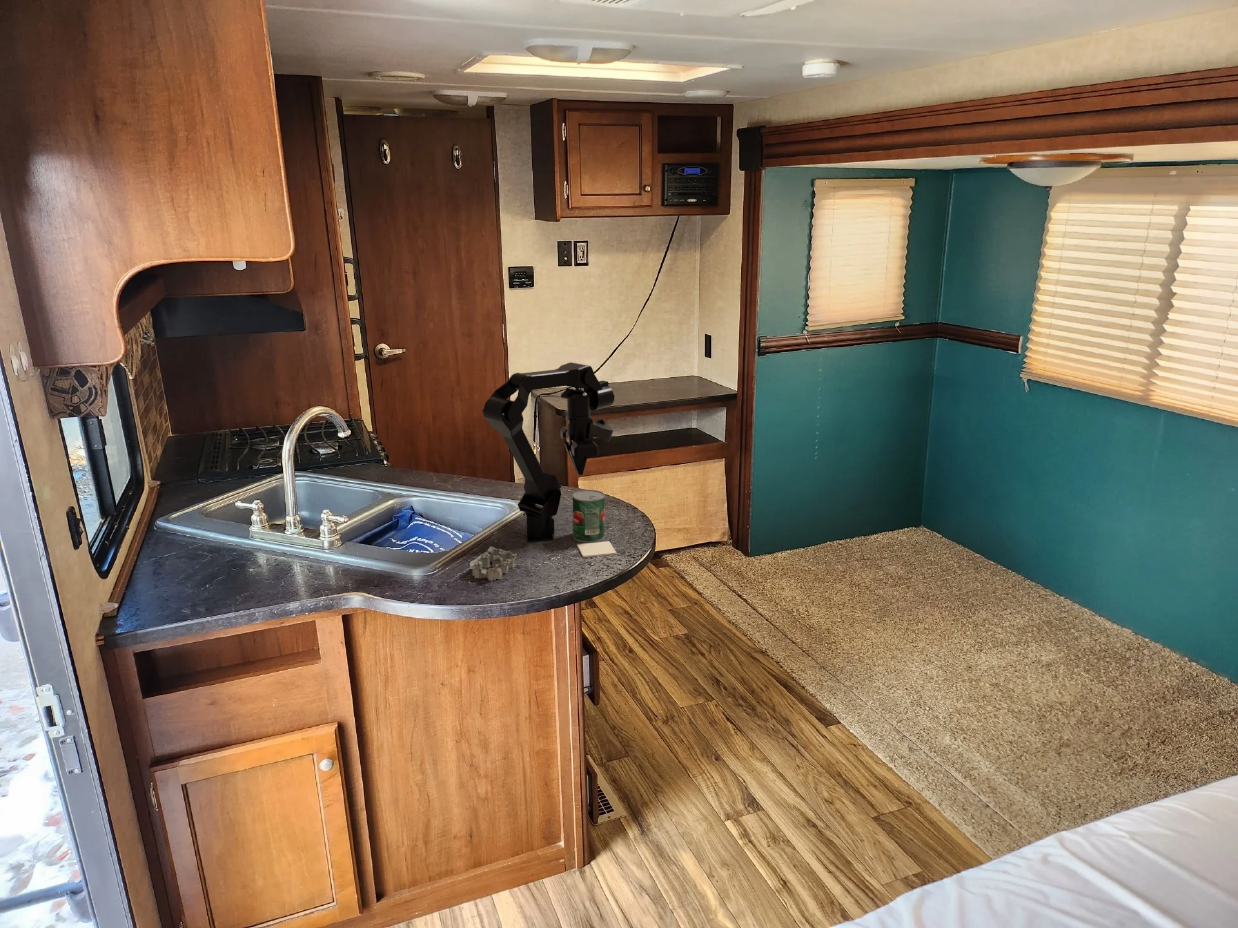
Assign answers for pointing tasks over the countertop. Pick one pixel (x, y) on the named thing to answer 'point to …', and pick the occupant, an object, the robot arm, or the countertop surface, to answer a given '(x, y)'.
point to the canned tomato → (588, 516)
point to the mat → (596, 549)
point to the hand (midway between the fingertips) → (579, 472)
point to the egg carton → (493, 563)
